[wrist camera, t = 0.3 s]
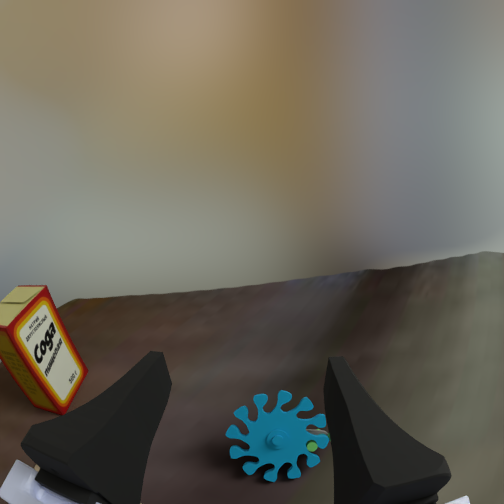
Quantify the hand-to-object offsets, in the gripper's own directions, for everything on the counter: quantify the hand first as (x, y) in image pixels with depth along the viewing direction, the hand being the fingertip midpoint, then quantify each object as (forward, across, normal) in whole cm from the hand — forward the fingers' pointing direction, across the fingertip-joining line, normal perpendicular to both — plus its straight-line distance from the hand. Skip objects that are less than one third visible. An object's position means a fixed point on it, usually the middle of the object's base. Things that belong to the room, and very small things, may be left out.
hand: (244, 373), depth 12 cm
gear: (+7, -2, +21) cm, 22 cm away
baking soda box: (+13, +30, +22) cm, 40 cm away
